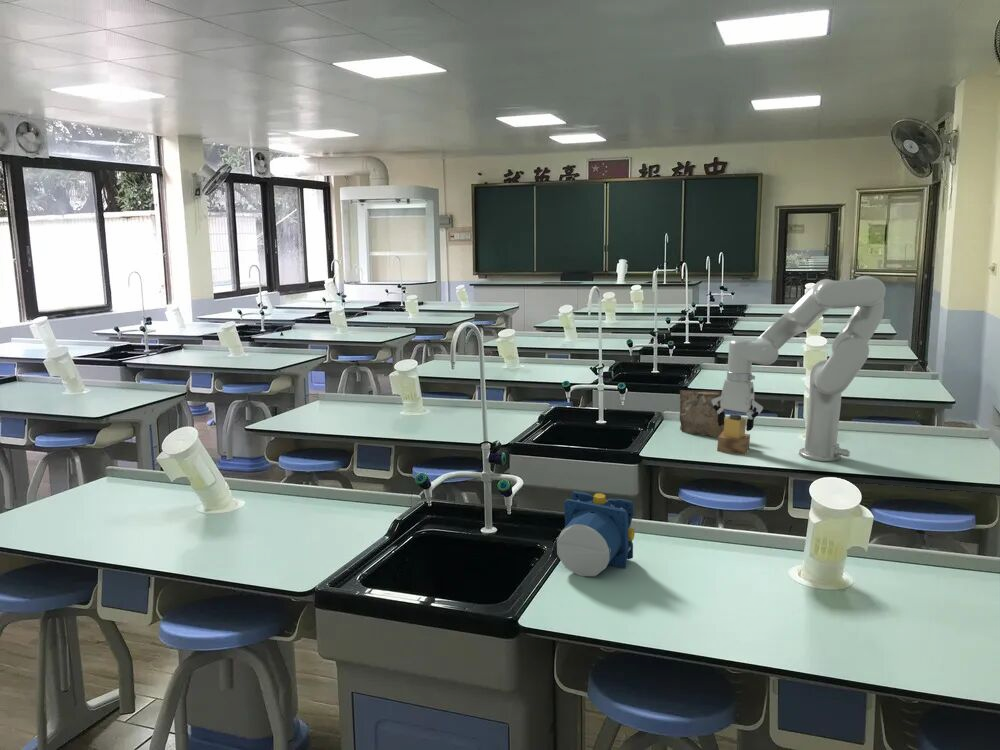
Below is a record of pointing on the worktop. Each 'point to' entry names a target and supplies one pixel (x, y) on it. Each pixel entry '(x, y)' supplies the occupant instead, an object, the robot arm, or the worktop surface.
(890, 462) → the worktop surface
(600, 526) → the valve
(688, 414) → the mineral sample
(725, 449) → the specimen box
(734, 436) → the canister
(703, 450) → the worktop surface
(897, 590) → the worktop surface
